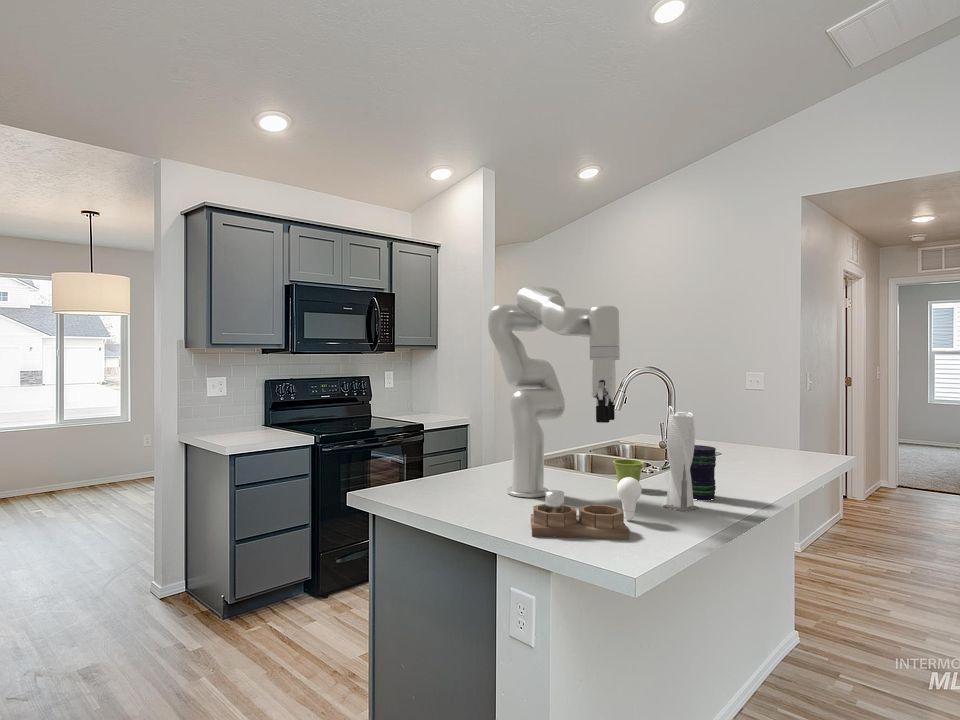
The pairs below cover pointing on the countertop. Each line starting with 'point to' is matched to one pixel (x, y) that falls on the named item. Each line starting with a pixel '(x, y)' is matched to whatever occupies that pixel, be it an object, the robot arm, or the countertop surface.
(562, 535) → the socket board
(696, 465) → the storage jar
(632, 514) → the lightbulb
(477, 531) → the countertop surface
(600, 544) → the countertop surface
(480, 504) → the countertop surface
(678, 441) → the skyscraper
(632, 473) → the plant pot
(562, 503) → the grey domed cylinder
